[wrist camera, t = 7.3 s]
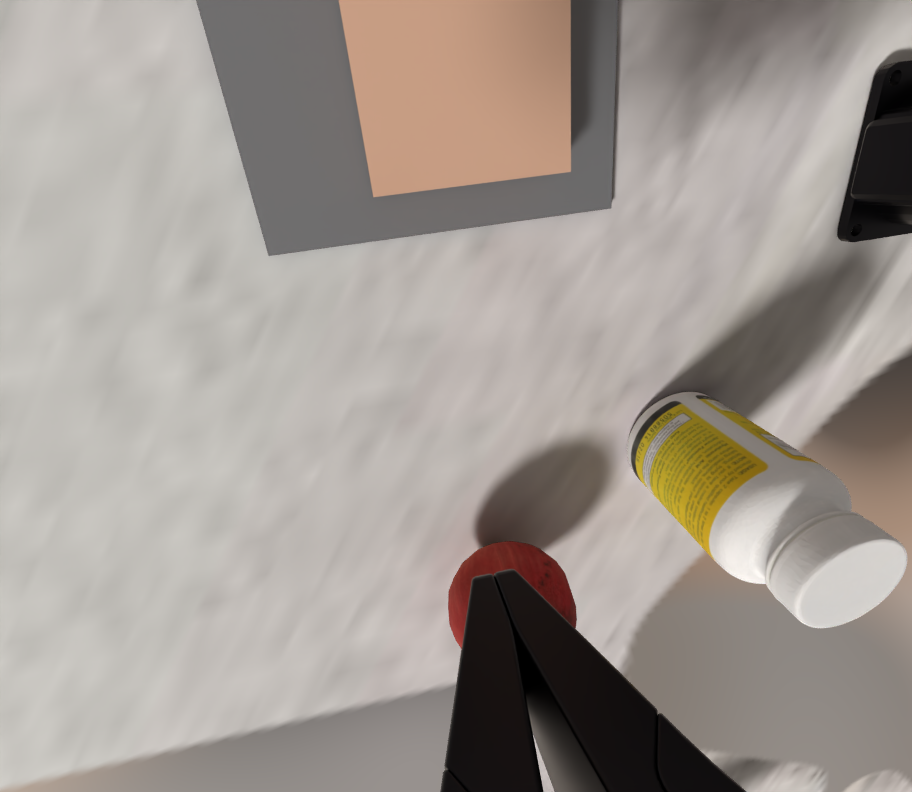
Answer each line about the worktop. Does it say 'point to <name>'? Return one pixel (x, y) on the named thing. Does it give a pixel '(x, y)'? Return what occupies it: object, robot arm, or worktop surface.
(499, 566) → the onion
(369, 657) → the worktop surface
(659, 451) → the supplement bottle
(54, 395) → the worktop surface
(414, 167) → the block
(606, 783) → the robot arm
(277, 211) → the slate mat
